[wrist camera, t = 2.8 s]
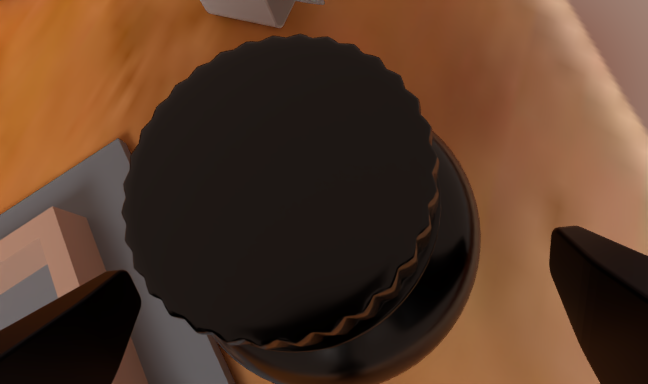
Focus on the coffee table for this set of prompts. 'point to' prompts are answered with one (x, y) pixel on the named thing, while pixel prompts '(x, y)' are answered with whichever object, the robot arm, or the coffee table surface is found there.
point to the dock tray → (96, 269)
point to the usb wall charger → (255, 10)
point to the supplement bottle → (303, 213)
